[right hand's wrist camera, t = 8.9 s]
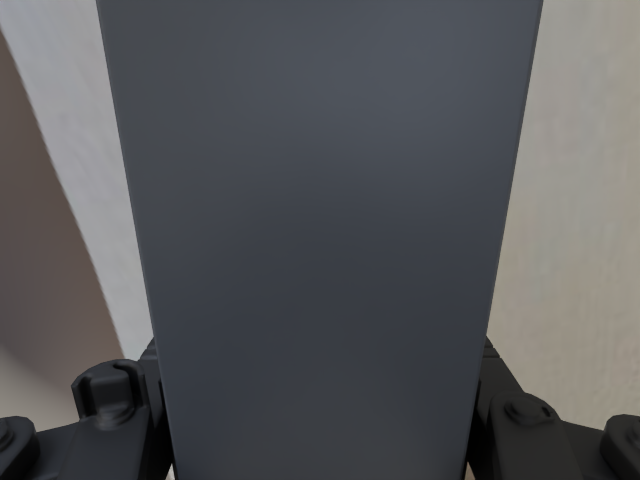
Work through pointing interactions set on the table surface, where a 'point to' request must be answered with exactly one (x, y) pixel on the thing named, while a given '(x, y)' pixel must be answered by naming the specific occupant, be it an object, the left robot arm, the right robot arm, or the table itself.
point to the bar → (319, 221)
